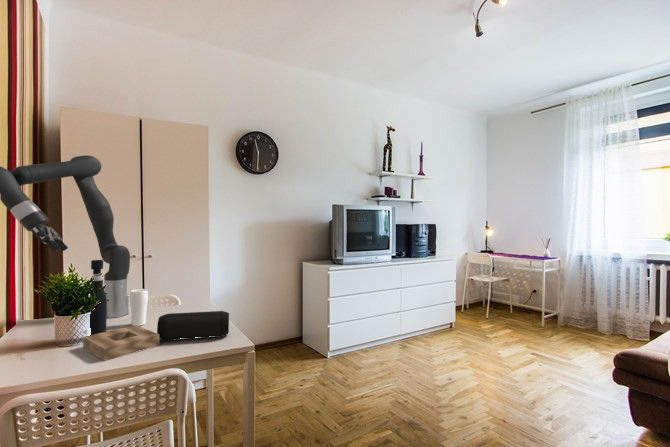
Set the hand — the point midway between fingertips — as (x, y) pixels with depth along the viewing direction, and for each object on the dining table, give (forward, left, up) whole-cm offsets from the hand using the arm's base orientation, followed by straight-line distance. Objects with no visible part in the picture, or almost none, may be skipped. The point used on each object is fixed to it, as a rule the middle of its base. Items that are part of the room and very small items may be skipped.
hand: (61, 250), depth 133 cm
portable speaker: (-33, +36, -34) cm, 60 cm away
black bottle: (-9, +8, -34) cm, 36 cm away
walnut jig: (-11, +25, -34) cm, 44 cm away
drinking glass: (-27, +3, -34) cm, 44 cm away
